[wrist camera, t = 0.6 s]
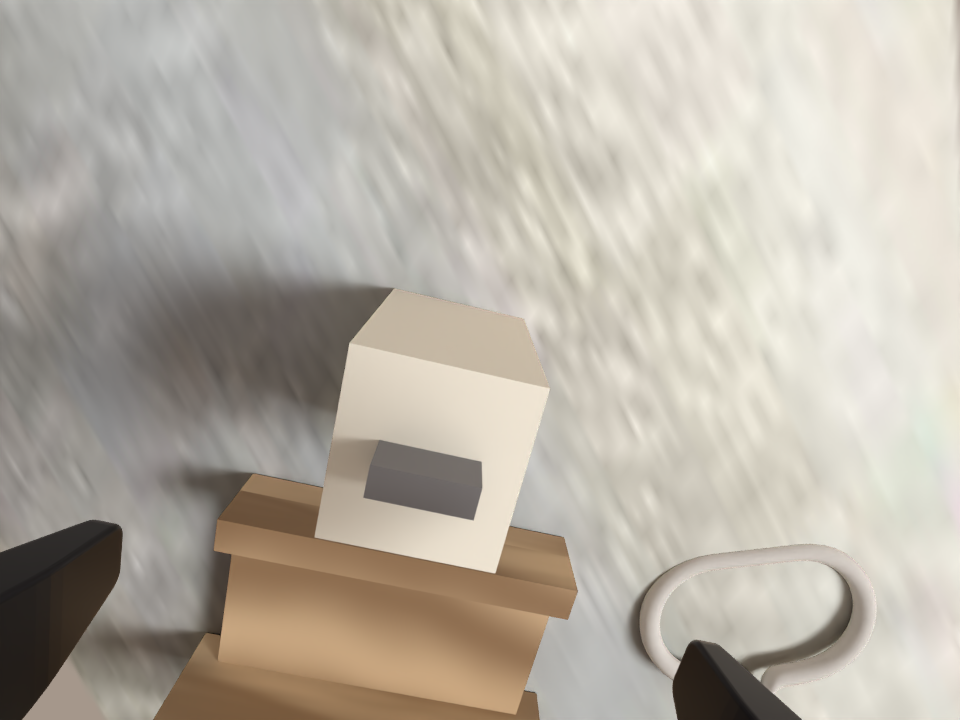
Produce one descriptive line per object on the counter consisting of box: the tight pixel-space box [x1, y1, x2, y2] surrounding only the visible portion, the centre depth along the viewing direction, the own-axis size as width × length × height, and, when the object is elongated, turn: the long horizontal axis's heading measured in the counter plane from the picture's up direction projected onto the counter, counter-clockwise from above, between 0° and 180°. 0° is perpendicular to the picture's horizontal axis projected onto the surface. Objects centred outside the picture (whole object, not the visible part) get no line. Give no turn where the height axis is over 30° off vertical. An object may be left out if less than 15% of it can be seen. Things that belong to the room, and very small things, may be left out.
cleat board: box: [153, 474, 578, 720], centre depth 20 cm, size 9×14×6 cm, turn 76°
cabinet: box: [315, 288, 550, 573], centre depth 16 cm, size 5×4×8 cm
